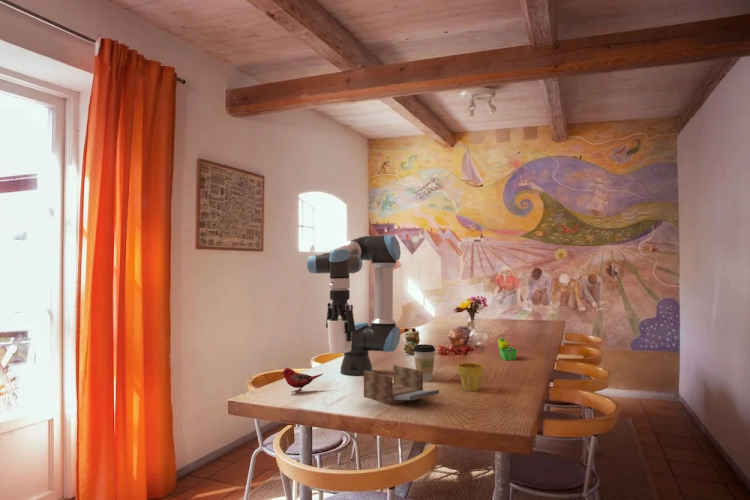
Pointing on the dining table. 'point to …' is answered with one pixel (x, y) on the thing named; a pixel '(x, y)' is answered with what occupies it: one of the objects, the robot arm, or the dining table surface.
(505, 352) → the fruit basket
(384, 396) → the small wooden shelf
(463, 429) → the dining table surface
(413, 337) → the decorative figurine
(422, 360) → the coffee cup
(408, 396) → the pale grey panel
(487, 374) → the dining table surface
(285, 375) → the decorative bird figurine
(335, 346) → the candle holder
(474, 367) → the plant pot
